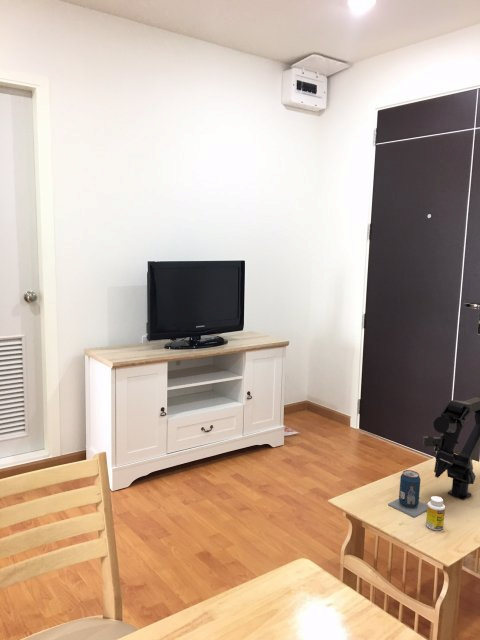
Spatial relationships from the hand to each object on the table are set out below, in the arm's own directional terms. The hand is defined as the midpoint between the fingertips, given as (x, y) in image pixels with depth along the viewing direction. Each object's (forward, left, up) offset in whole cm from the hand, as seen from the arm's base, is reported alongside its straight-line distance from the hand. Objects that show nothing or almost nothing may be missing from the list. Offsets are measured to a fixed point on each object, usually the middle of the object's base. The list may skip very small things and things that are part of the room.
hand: (435, 474), depth 195 cm
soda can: (+9, -5, -11) cm, 15 cm away
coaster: (+9, -4, -12) cm, 15 cm away
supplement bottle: (+14, +9, -12) cm, 20 cm away
